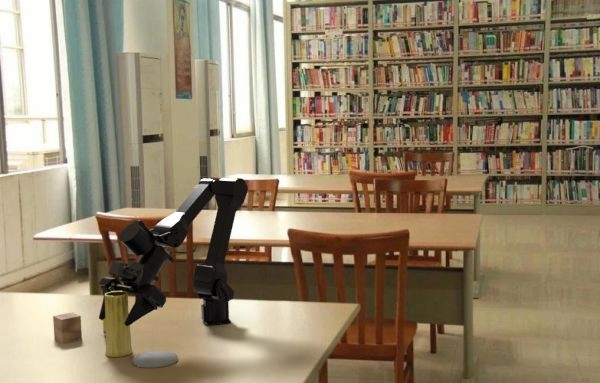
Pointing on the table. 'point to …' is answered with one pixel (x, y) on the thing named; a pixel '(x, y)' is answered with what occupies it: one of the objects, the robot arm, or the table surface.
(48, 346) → the table surface
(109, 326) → the vase
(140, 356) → the mat
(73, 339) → the walnut block
